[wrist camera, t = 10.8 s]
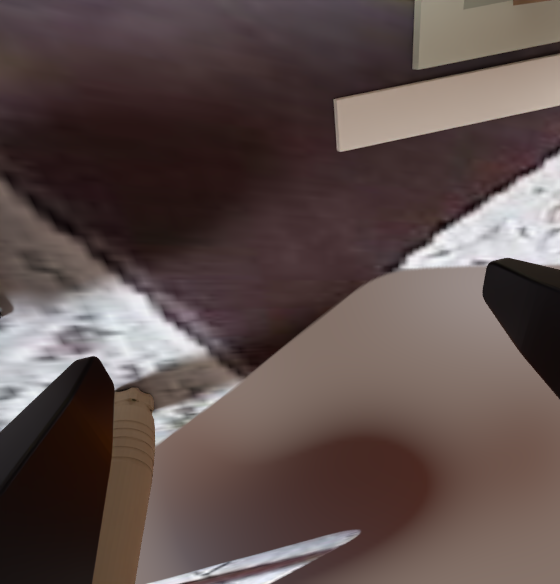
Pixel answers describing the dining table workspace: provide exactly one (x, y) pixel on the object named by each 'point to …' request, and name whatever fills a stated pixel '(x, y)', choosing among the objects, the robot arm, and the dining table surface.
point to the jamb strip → (446, 102)
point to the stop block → (526, 1)
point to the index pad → (479, 29)
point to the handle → (126, 488)
